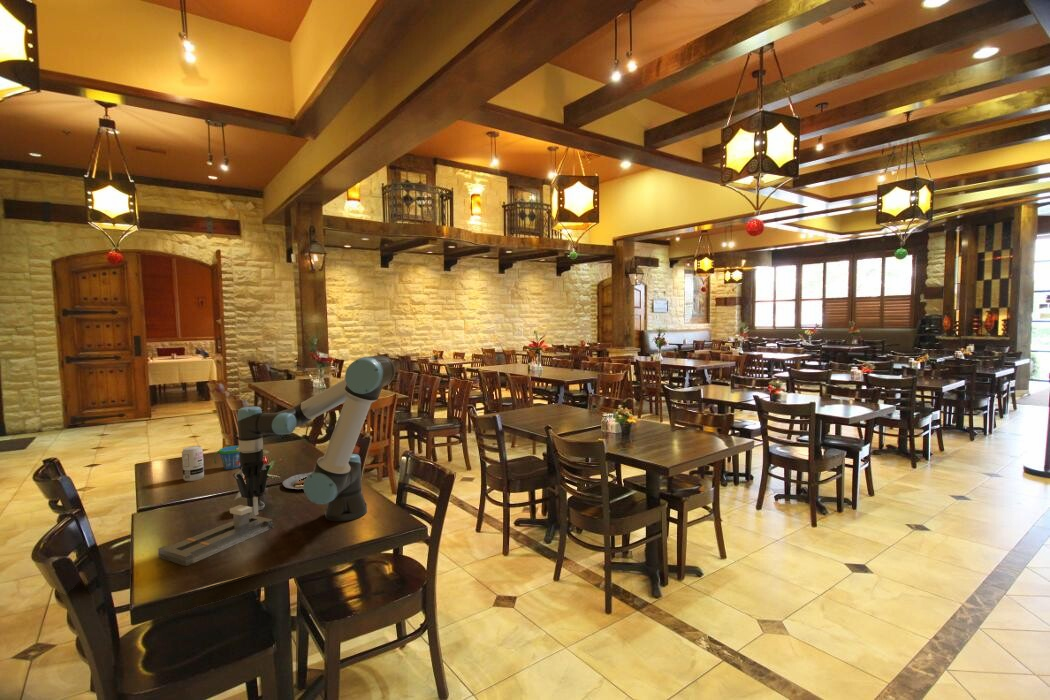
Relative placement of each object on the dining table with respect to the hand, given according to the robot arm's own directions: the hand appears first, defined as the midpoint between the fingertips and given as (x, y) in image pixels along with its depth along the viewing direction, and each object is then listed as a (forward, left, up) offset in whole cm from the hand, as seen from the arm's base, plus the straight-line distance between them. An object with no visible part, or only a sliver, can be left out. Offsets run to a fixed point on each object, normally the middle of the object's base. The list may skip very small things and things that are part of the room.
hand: (254, 514), depth 178 cm
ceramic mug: (+17, -10, -5) cm, 20 cm away
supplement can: (+78, -26, -5) cm, 82 cm away
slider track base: (0, +13, -5) cm, 14 cm away
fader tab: (0, +5, -3) cm, 6 cm away
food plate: (+20, -44, -5) cm, 48 cm away
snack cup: (+78, -45, -5) cm, 90 cm away
